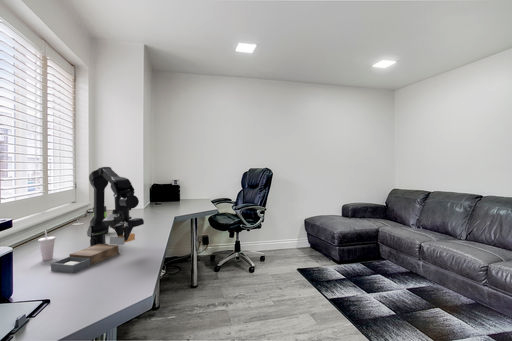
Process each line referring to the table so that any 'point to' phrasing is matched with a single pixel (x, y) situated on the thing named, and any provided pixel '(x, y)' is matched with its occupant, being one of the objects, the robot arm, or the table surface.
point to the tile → (72, 263)
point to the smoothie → (47, 246)
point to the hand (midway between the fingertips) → (123, 240)
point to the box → (64, 267)
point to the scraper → (121, 239)
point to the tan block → (97, 252)
